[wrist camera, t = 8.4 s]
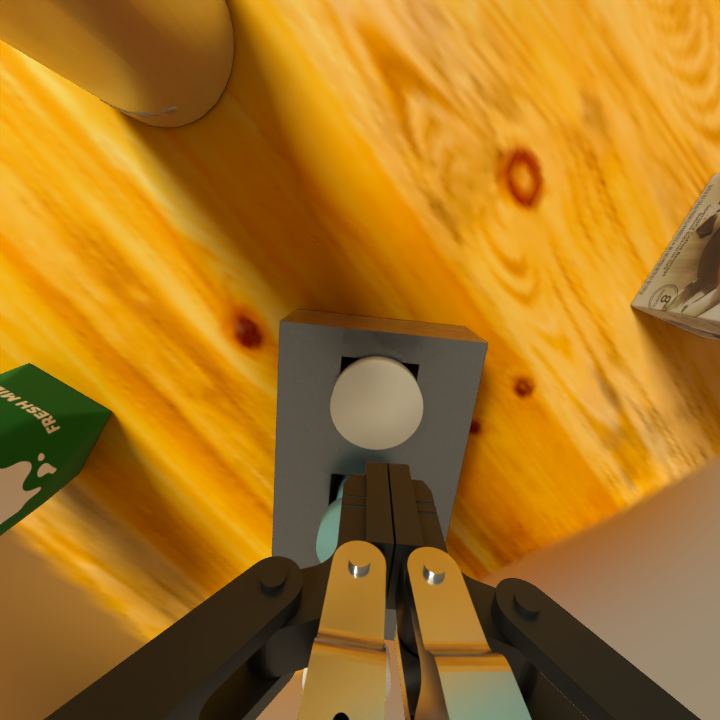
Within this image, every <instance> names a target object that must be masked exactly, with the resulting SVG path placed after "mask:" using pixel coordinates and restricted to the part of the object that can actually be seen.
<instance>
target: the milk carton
mask: <svg viewBox="0 0 720 720" xmlns="http://www.w3.org/2000/svg"><path fill="white" fill-rule="evenodd" d="M111 413H112V411H110V410H108V409H106V408H105V407H103V406H101V405H100V404H98V403H96V402H94V401H93V400H91V399H89V398H88V397H86V396H84V395H83V394H81V393H79V392H77V391H76V390H74V389H72V388H71V387H69V386H67V385H65V384H64V383H62V382H60V381H59V380H57V379H55V378H54V377H52V376H50V375H48V374H47V373H45V372H43V371H42V370H40V369H38V368H36V367H35V366H33V365H31V364H30V363H28V364H25V365H23V366H20V367H18V368H15V369H13V370H10V371H8V372H5V373H2V374H0V536H1V535H2V534H3V533H5V532H6V531H7V530H9V529H10V528H11V527H13V526H14V525H15V524H17V523H18V522H19V521H21V520H22V519H23V518H25V517H26V516H27V515H29V514H30V513H31V512H33V511H34V510H35V509H37V508H38V507H39V506H41V505H42V504H43V503H44V502H46V501H47V500H48V499H49V498H51V497H52V496H53V495H54V494H55V493H56V492H58V491H59V490H60V489H61V488H62V487H64V486H65V485H66V484H67V483H68V482H69V481H71V480H72V479H73V478H74V477H75V476H77V475H78V474H79V473H80V471H81V469H82V467H83V465H84V463H85V461H86V459H87V458H88V456H89V454H90V452H91V450H92V448H93V446H94V445H95V443H96V441H97V439H98V437H99V435H100V433H101V431H102V430H103V428H104V426H105V424H106V422H107V420H108V418H109V416H110V415H111Z"/></svg>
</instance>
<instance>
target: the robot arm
mask: <svg viewBox="0 0 720 720" xmlns="http://www.w3.org/2000/svg"><path fill="white" fill-rule="evenodd" d="M0 40H2V41H4V42H5V43H7V44H9V45H10V46H12V47H14V48H15V49H17V50H19V51H20V52H22V53H24V54H26V55H27V56H29V57H31V58H32V59H34V60H36V61H37V62H39V63H41V64H42V65H44V66H46V67H47V68H49V69H51V70H52V71H54V72H56V73H57V74H59V75H61V76H62V77H64V78H66V79H68V80H69V81H71V82H73V83H74V84H76V85H78V86H79V87H81V88H83V89H84V90H86V91H88V92H89V93H91V94H93V95H94V96H96V97H98V98H99V99H100V100H101V101H103V102H105V103H106V104H108V105H110V106H111V107H113V108H115V109H117V110H119V111H121V112H123V113H125V114H126V115H128V116H130V117H132V118H134V119H136V120H138V121H140V122H143V123H145V124H148V125H153V126H157V127H178V126H182V125H185V124H189V123H192V122H193V121H195V120H197V119H199V118H200V117H202V116H204V115H205V114H206V113H207V112H208V111H209V110H210V109H211V108H212V107H213V106H214V105H215V104H216V102H217V101H218V99H219V98H220V96H221V95H222V93H223V91H224V90H225V87H226V84H227V82H228V79H229V76H230V74H231V68H232V62H233V56H234V33H233V27H232V22H231V17H230V12H229V9H228V6H227V4H226V1H225V0H0ZM385 598H386V609H393V610H396V620H397V625H396V631H395V638H394V639H395V649H396V656H397V663H398V671H399V678H400V686H401V693H402V700H403V708H404V715H405V720H588V719H589V720H701V719H699V718H698V717H697V716H696V715H694V714H693V713H692V712H691V711H689V710H688V709H687V708H686V707H684V706H683V705H682V704H681V703H680V702H678V701H677V700H676V699H675V698H673V697H672V696H671V695H670V694H668V693H667V692H666V691H665V690H663V689H662V688H661V687H660V686H659V685H657V684H656V683H655V682H654V681H652V680H651V679H650V678H649V677H647V676H646V675H645V674H644V673H642V672H641V671H640V670H639V669H637V668H636V667H635V666H634V665H632V664H631V663H630V662H629V661H628V660H626V659H625V658H624V657H623V656H621V655H620V654H619V653H618V652H616V651H615V650H614V649H613V648H611V647H610V646H609V645H608V644H606V643H605V642H604V641H603V640H602V639H600V638H599V637H598V636H597V635H595V634H594V633H593V632H592V631H591V630H589V629H588V628H587V627H585V626H584V625H583V624H582V623H580V622H579V621H578V620H577V619H576V618H574V617H573V616H572V615H571V614H570V613H568V612H567V611H566V610H565V609H563V608H562V607H561V606H560V605H558V604H557V603H556V602H555V601H553V600H552V599H551V598H550V597H548V596H547V595H546V594H545V593H543V592H542V591H541V590H540V589H538V588H537V587H536V586H534V585H532V584H530V583H529V582H526V581H524V580H521V579H516V578H508V579H504V580H502V581H501V582H500V583H499V584H498V585H497V588H494V587H491V586H489V585H486V584H484V583H481V582H478V581H476V580H474V579H472V578H470V577H468V576H466V575H465V574H464V573H462V572H461V571H460V568H459V566H458V564H457V563H456V561H455V560H454V559H453V558H452V557H451V556H450V555H448V552H447V549H446V545H445V541H444V537H443V534H442V530H441V526H440V522H439V518H438V515H437V511H436V507H435V505H434V499H433V495H432V492H431V490H430V489H429V488H428V486H427V485H426V484H425V483H424V481H423V480H412V479H411V474H410V469H409V465H408V464H398V463H386V462H376V461H366V466H365V475H356V474H350V476H349V477H348V478H347V479H346V481H345V482H344V485H343V494H342V504H341V513H340V523H339V533H338V542H337V547H336V549H335V551H334V553H333V554H332V555H331V556H330V557H329V558H328V559H327V560H326V561H324V562H323V563H321V564H318V565H315V566H312V567H307V568H303V569H300V568H299V566H298V565H297V564H296V563H295V562H294V561H293V560H291V559H289V558H286V557H281V556H273V557H268V558H265V559H263V560H261V561H259V562H257V563H256V564H255V565H253V566H252V567H250V568H249V569H248V570H246V571H245V572H244V573H242V574H241V575H240V576H238V577H237V578H235V579H234V580H233V581H231V582H230V583H229V584H227V585H226V586H225V587H223V588H222V589H221V590H219V591H218V592H216V593H215V594H214V595H212V596H211V597H210V598H208V599H207V600H206V601H204V602H203V603H202V604H200V605H199V606H197V607H196V608H195V609H193V610H192V611H191V612H189V613H188V614H187V615H185V616H184V617H182V618H181V619H180V620H178V621H177V622H176V623H174V624H173V625H172V626H170V627H169V628H168V629H166V630H165V631H163V632H162V633H161V634H159V635H158V636H157V637H155V638H154V639H153V640H151V641H150V642H148V643H147V644H146V645H144V646H143V647H142V648H140V649H139V650H138V651H136V652H135V653H134V654H132V655H131V656H130V657H128V658H127V659H125V660H124V661H123V662H121V663H120V664H119V665H117V666H116V667H115V668H113V669H112V670H111V671H109V672H108V673H107V674H105V675H104V676H102V677H101V678H100V679H98V680H97V681H95V682H94V683H93V684H92V685H90V686H89V687H87V688H86V689H85V690H83V691H82V692H81V693H79V694H78V695H76V696H75V697H74V698H72V699H71V700H70V701H68V702H67V703H66V704H65V705H63V706H62V707H60V708H59V709H57V710H56V711H55V712H53V713H52V714H51V715H49V716H48V717H47V718H45V719H44V720H255V719H256V718H257V717H258V716H259V715H260V714H261V712H262V711H263V710H264V709H265V708H266V707H267V706H268V705H269V703H270V702H271V701H272V700H273V699H274V698H275V697H276V695H277V694H278V693H279V692H280V691H281V690H282V689H283V688H284V686H285V685H286V684H287V683H288V682H289V681H290V679H291V678H292V677H293V675H294V673H295V671H298V670H301V669H304V668H308V670H307V675H306V679H305V684H304V689H303V694H302V698H301V703H300V708H299V713H298V718H297V720H385V703H386V648H385V647H384V624H385ZM558 690H559V691H558ZM573 704H574V705H573ZM587 718H588V719H587Z"/></svg>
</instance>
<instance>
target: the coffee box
mask: <svg viewBox="0 0 720 720" xmlns="http://www.w3.org/2000/svg"><path fill="white" fill-rule="evenodd" d="M631 306H632V307H634V308H636V309H639V310H641V311H643V312H645V313H648V314H650V315H652V316H654V317H656V318H659V319H661V320H663V321H665V322H668V323H670V324H672V325H674V326H677V327H679V328H681V329H683V330H686V331H688V332H690V333H693V334H695V335H697V336H700V337H703V338H709V339H714V340H719V341H720V173H718V174H715V175H714V176H713V177H712V178H711V180H710V181H709V183H708V184H707V186H706V187H705V189H704V191H703V192H702V194H701V195H700V197H699V199H698V200H697V202H696V203H695V205H694V207H693V208H692V210H691V211H690V213H689V214H688V216H687V218H686V219H685V221H684V222H683V224H682V225H681V227H680V228H679V230H678V232H677V233H676V235H675V236H674V238H673V239H672V241H671V243H670V244H669V246H668V247H667V249H666V250H665V252H664V254H663V255H662V257H661V258H660V260H659V261H658V263H657V265H656V266H655V268H654V269H653V271H652V272H651V274H650V275H649V277H648V279H647V280H646V282H645V283H644V285H643V286H642V288H641V290H640V291H639V293H638V294H637V296H636V297H635V299H634V300H633V302H632V304H631Z"/></svg>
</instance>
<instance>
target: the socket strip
mask: <svg viewBox="0 0 720 720" xmlns="http://www.w3.org/2000/svg"><path fill="white" fill-rule="evenodd" d="M487 346H488V342H486V341H485V340H483V339H482V338H481V337H479V336H478V335H476V334H475V333H474V332H472V331H471V330H469V329H468V328H467V327H465V326H456V325H446V324H437V323H427V322H418V321H408V320H399V319H389V318H380V317H370V316H361V315H351V314H342V313H332V312H323V311H313V310H304V309H297V310H295V311H294V312H292V313H291V314H289V315H288V316H287V317H285V318H284V319H282V320H281V321H280V329H279V359H278V389H277V419H276V448H275V478H274V508H273V537H272V557H273V556H281V557H286V558H289V559H291V560H293V561H294V562H295V563H296V564H297V565H298V566H299V568H300V569H303V568H307V567H312V566H315V565H318V564H321V563H320V561H319V559H318V556H317V552H316V542H317V536H318V531H319V526H320V521H321V517H322V515H323V513H324V511H325V510H326V508H327V507H328V506H329V505H330V504H331V503H333V502H334V501H336V500H337V493H338V486H339V485H334V475H335V474H342V475H350V474H356V475H365V466H366V461H376V462H386V463H398V464H408V465H409V469H410V474H411V479H412V480H423V481H424V483H425V484H426V485H427V486H428V488H429V489H430V490H431V492H432V495H433V499H434V505H435V507H436V511H437V515H438V518H439V522H440V526H441V530H442V534H443V537H444V541H445V543H446V538H447V533H448V529H449V524H450V519H451V515H452V510H453V505H454V501H455V496H456V491H457V487H458V482H459V477H460V473H461V468H462V463H463V459H464V454H465V449H466V445H467V440H468V435H469V431H470V426H471V421H472V417H473V412H474V407H475V402H476V398H477V393H478V388H479V384H480V379H481V374H482V370H483V365H484V360H485V356H486V351H487ZM372 356H381V357H387V358H390V359H393V360H396V361H398V362H401V363H407V369H408V370H409V371H410V372H411V373H412V374H413V376H414V377H415V379H416V381H417V384H418V387H419V389H420V392H421V395H422V399H423V415H422V419H421V422H420V424H419V426H418V428H417V429H416V431H415V432H414V433H413V434H412V435H411V436H410V437H409V438H408V439H407V440H406V441H404V442H402V443H401V444H399V445H397V446H394V447H391V448H387V449H380V450H373V449H366V448H362V447H359V446H357V445H354V444H353V443H351V442H349V441H348V440H347V439H345V438H344V437H343V436H342V435H341V434H340V433H339V431H338V430H337V428H336V427H335V425H334V423H333V421H332V417H331V412H330V401H331V396H332V393H333V389H334V386H335V383H336V381H337V378H338V377H339V375H340V374H341V373H342V371H343V370H344V366H345V357H353V358H366V357H372ZM396 625H397V620H396V610H393V609H386V598H385V624H384V639H385V640H395V639H394V638H395V631H396Z"/></svg>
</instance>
